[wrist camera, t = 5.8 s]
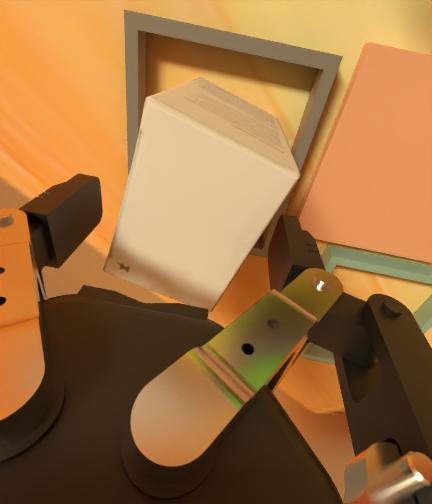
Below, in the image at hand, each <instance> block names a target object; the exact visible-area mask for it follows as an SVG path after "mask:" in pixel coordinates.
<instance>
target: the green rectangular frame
mask: <svg viewBox="0 0 432 504" xmlns="http://www.w3.org/2000/svg"><path fill="white" fill-rule="evenodd" d="M321 258H322V261H323V264H324V267H325V269H326V271H327V272H329V273H331V274H332V272H333V270H334V268H335V267H336V265H340V266H345V267H350V268H355V269H360V270H365V271H370V272H374V273H379V274H384V275H389V276H394V277H399V278H404V279H409V280H413V281H418V282H423V283H428V284H432V267H431V266H426V265H421V264H416V263H411V262H407V261H402V260H397V259H392V258H387V257H382V256H378V255H373V254H368V253H363V252H358V251H353V250H348V249H344V248H339V247H334V246H329V245H327V247H326V249H325V251H324V253H323V255H322V257H321ZM413 316H414V318H415V320H416V322H417V323H418V325H419V327H420V329H421V331H422V332H423V334H424V333H425V332H426V331H427V330H428V329H429V328H431V327H432V295H431V296H430V298H429V299H428V300H427V301H426V302H425V303H424V304H423V305H422V306H421V307H420V308H419V309H418V310H417V312H416V313H415V314H414V315H413ZM300 358H305V359H310V360H315V361H320V362H325V363H330V364H335V361H334V356H333V353H332V352H330V351H328V350H326V349H324V348H322V347H320V346H318V345H314V344H309V346H308V347H307V348H306V350H305V351H304V352H303V353H302V355H301V356H300Z"/></svg>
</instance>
